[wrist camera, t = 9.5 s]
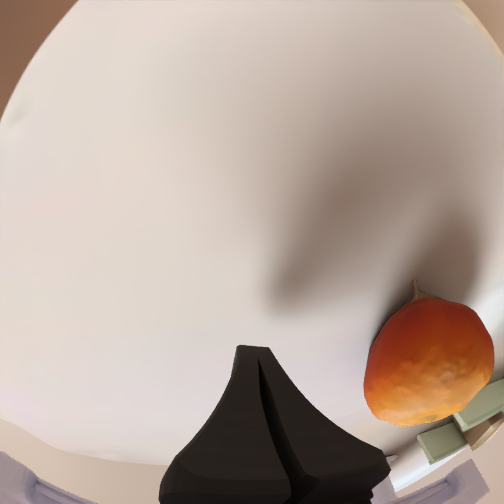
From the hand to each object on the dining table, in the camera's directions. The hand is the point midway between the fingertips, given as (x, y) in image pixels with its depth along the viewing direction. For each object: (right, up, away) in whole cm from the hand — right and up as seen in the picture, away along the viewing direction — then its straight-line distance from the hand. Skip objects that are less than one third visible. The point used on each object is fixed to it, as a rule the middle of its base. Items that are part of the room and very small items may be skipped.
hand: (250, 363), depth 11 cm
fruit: (+10, -1, +4) cm, 10 cm away
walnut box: (+27, -14, +10) cm, 32 cm away
